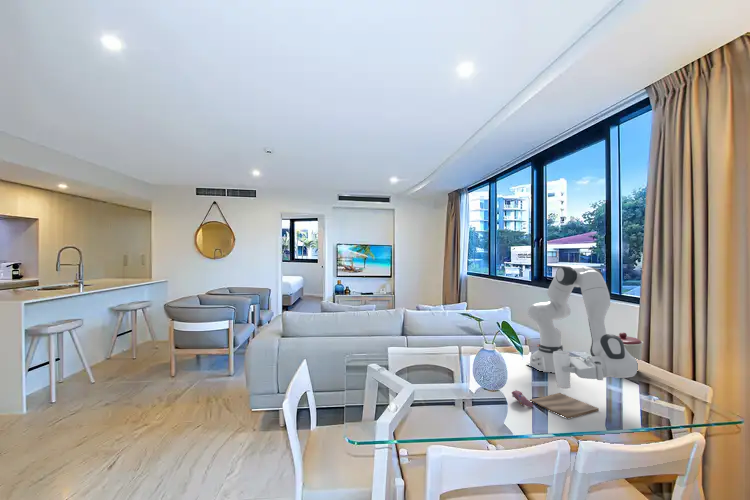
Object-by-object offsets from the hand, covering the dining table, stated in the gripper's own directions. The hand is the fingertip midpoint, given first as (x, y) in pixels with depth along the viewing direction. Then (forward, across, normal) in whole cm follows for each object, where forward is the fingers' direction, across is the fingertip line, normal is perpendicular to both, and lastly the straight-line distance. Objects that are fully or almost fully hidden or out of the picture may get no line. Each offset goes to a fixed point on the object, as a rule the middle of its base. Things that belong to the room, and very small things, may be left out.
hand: (559, 366), depth 161 cm
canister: (-46, -53, +18) cm, 73 cm away
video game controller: (+17, 0, +17) cm, 24 cm away
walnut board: (0, 0, +17) cm, 17 cm away
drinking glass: (-1, 0, +9) cm, 9 cm away
